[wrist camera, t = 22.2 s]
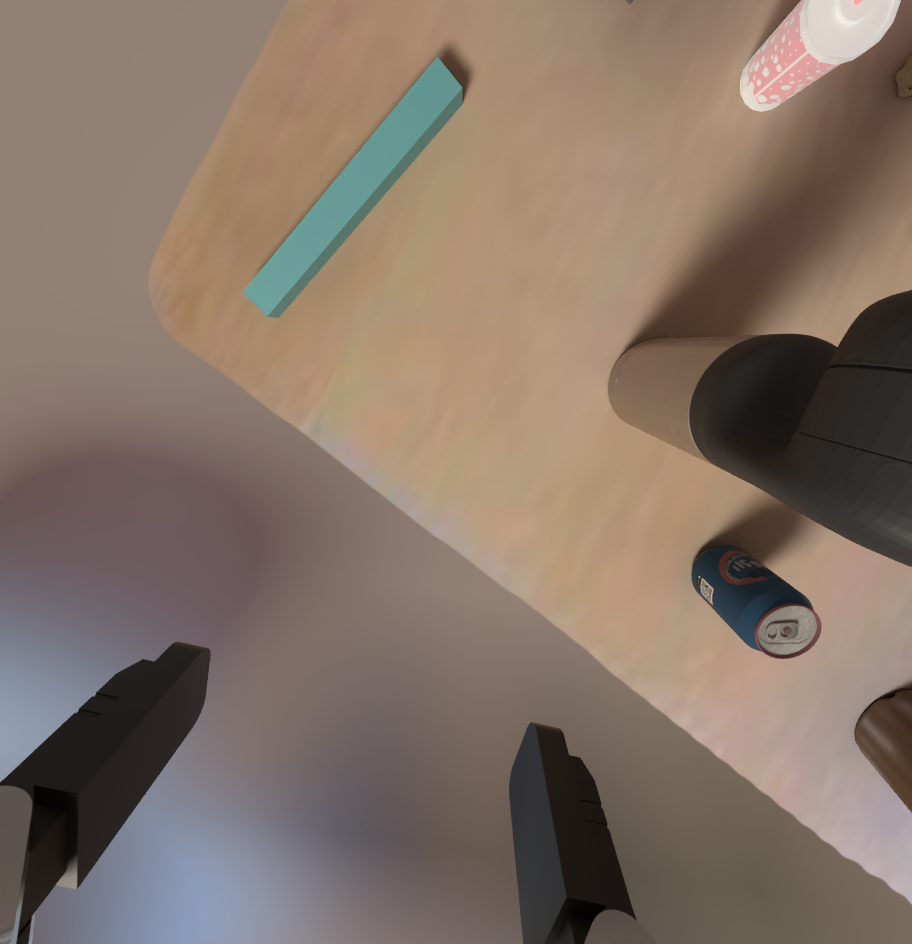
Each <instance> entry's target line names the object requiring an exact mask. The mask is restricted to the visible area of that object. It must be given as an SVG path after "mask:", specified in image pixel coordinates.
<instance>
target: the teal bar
mask: <svg viewBox="0 0 912 944" xmlns="http://www.w3.org/2000/svg"><path fill="white" fill-rule="evenodd" d="M462 104H463V88H462V86H461V85H460V84H459V83H458V81H457V80H456V79H455V78H454V76H453V75H452V74H451V73H450V71H449V70H448V69H447V68H446V66H445V65H444V64H443V63H442V61H441V60H440V59H439V58H438V57H436V59H435V60H434V61H433V62H432V63H431V65H430V66H429V67H428V68H427V70H426V71H425V72H424V73H423V74H422V76H421V77H420V78H419V79H418V80H417V82H416V83H415V84H414V85H413V86H412V88H411V89H410V90H409V91H408V93H407V94H406V95H405V96H404V97H403V99H402V100H401V101H400V102H399V103H398V105H397V106H396V107H395V108H394V110H393V111H392V112H391V113H390V114H389V116H388V117H387V118H386V119H385V120H384V122H383V123H382V124H381V125H380V126H379V128H378V129H377V130H376V131H375V133H374V134H373V135H372V136H371V137H370V139H369V140H368V141H367V142H366V143H365V145H364V146H363V147H362V148H361V149H360V151H359V152H358V153H357V154H356V156H355V157H354V158H353V159H352V160H351V162H350V163H349V164H348V165H347V166H346V168H345V169H344V170H343V171H342V173H341V174H340V175H339V176H338V177H337V179H336V180H335V181H334V182H333V183H332V185H331V186H330V187H329V188H328V189H327V191H326V192H325V193H324V194H323V196H322V197H321V198H320V199H319V200H318V202H317V203H316V204H315V205H314V206H313V208H312V209H311V210H310V211H309V213H308V214H307V215H306V216H305V217H304V219H303V220H302V221H301V222H300V223H299V225H298V226H297V227H296V228H295V229H294V231H293V232H292V233H291V234H290V236H289V237H288V238H287V239H286V240H285V242H284V243H283V244H282V245H281V246H280V248H279V249H278V250H277V251H276V253H275V254H274V255H273V256H272V257H271V259H270V260H269V261H268V262H267V263H266V265H265V266H264V267H263V268H262V269H261V271H260V272H259V273H258V274H257V276H256V277H255V278H254V279H253V280H252V282H251V283H250V284H249V285H248V286H247V288H246V289H245V290H244V291H243V293H244V294H245V295H246V296H247V297H248V298H249V299H250V300H251V301H252V302H253V303H254V304H255V305H256V306H257V307H258V308H259V309H260V310H261V311H262V312H263V313H264V314H265V315H266V316H268V317H275V318H279V317H280V316H281V314H282V313H283V312H284V311H285V310H286V309H287V307H288V306H289V305H290V304H291V303H292V302H293V300H294V299H295V298H296V297H297V296H298V295H299V293H300V292H301V291H302V290H303V289H304V288H305V287H306V285H307V284H308V283H309V282H310V281H311V280H312V278H313V277H314V276H315V275H316V274H317V273H318V271H319V270H320V269H321V268H322V267H323V266H324V264H325V263H326V262H327V261H328V260H329V259H330V257H331V256H332V255H333V254H334V253H335V252H336V251H337V249H338V248H339V247H340V246H341V245H342V244H343V242H344V241H345V240H346V239H347V238H348V237H349V235H350V234H351V233H352V232H353V231H354V230H355V228H356V227H357V226H358V225H359V224H360V223H361V221H362V220H363V219H364V218H365V217H366V216H367V215H368V213H369V212H370V211H371V210H372V209H373V208H374V206H375V205H376V204H377V203H378V202H379V201H380V199H381V198H382V197H383V196H384V195H385V194H386V192H387V191H388V190H389V189H390V188H391V187H392V185H393V184H394V183H395V182H396V181H397V180H398V179H399V177H400V176H401V175H402V174H403V173H404V172H405V170H406V169H407V168H408V167H409V166H410V165H411V163H412V162H413V161H414V160H415V159H416V158H417V156H418V155H419V154H420V153H421V152H422V151H423V149H424V148H425V147H426V146H427V145H428V144H429V143H430V141H431V140H432V139H433V138H434V137H435V136H436V134H437V133H438V132H439V131H440V130H441V129H442V127H443V126H444V125H445V124H446V123H447V122H448V120H449V119H450V118H451V117H452V116H453V115H454V113H455V112H456V111H457V110H458V109H459V108H460V107H461V105H462Z"/></svg>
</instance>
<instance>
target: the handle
mask: <svg viewBox="0 0 912 944" xmlns="http://www.w3.org/2000/svg"><path fill="white" fill-rule="evenodd" d="M895 81H896V82H897V85H898V92H897V94H898V95H899V96H900V97H901V98H904V97H907V96H912V56H911V57H910V58H909V59H908V60H907V61H906V62H905V65H904V67H903V68H902V69H901V70H900V71H899V72H898V73H897V75H896V78H895Z"/></svg>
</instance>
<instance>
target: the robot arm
mask: <svg viewBox="0 0 912 944" xmlns="http://www.w3.org/2000/svg"><path fill="white" fill-rule="evenodd" d="M608 393H609V399H610V403H611V405H612V407H613V409H614V411H615V412H616V414H617V415H618V416H619V417H620V418H621V419H622V420H623V421H625V422H626V423H628V424H630V425H632V426H634V427H636V428H638V429H640V430H642V431H644V432H646V433H648V434H650V435H652V436H654V437H656V438H658V439H660V440H662V441H664V442H666V443H668V444H671V445H673V446H675V447H677V448H679V449H681V450H683V451H685V452H687V453H689V454H691V455H693V456H695V457H698V458H700V459H702V460H704V461H706V462H708V463H710V464H712V465H715V466H717V467H719V468H721V469H723V470H725V471H727V472H729V473H731V474H733V475H735V476H736V477H738V478H740V479H742V480H744V481H746V482H748V483H750V484H752V485H754V486H756V487H758V488H760V489H761V490H763V491H765V492H767V493H768V494H770V495H772V496H773V497H775V498H777V499H778V500H780V501H782V502H783V503H785V504H787V505H788V506H790V507H791V508H793V509H795V510H796V511H798V512H800V513H801V514H803V515H805V516H806V517H808V518H810V519H812V520H813V521H815V522H817V523H819V524H821V525H822V526H824V527H826V528H828V529H830V530H832V531H833V532H835V533H837V534H839V535H841V536H843V537H845V538H847V539H848V540H850V541H852V542H854V543H856V544H859V545H861V546H863V547H865V548H867V549H870V550H872V551H874V552H877V553H879V554H881V555H884V556H886V557H888V558H891V559H893V560H895V561H898V562H900V563H903V564H905V565H908V566H911V567H912V290H910V291H906V292H903V293H899V294H895V295H892V296H889V297H886V298H884V299H882V300H879V301H877V302H876V303H874V304H872V305H870V306H869V307H868V308H866V309H865V310H864V311H863V312H862V313H860V315H859V316H858V317H857V318H856V320H855V321H854V322H853V323H852V325H851V326H850V328H849V329H848V331H847V332H846V334H845V336H844V337H843V339H842V340H841V342H840V344H839V346H838V347H836V346H835V345H833V344H831V343H829V342H827V341H825V340H822V339H819V338H817V337H813V336H809V335H802V334H769V335H746V336H722V337H692V338H658V339H651V340H646V341H643V342H640V343H638V344H636V345H634V346H633V347H631V348H630V349H628V350H627V351H626V352H625V353H624V354H623V355H622V356H621V357H620V358H619V360H618V361H617V362H616V364H615V366H614V368H613V370H612V372H611V375H610V379H609V386H608ZM209 662H210V650H209V649H208V648H204V647H200V646H195V645H191V644H187V643H182V642H175V643H173V644H172V645H171V646H170V647H169V648H168V649H167V650H166V651H165V652H164V653H163V654H162V655H161V656H160V657H159V658H158V659H157V660H156V661H155V662H153V661H148V660H144V659H142V660H141V661H139V662H137V663H135V664H133V665H131V666H130V667H128V668H126V669H124V670H122V671H120V672H118V673H117V674H116V675H114V677H112V678H111V679H110V680H109V681H108V682H107V683H106V684H105V685H104V686H103V687H102V688H101V689H100V690H99V691H98V692H96V695H95V696H94V697H93V696H92V697H91V698H90V699H89V700H88V701H87V702H86V703H85V704H84V705H83V706H82V707H81V708H79V711H78V712H77V713H74V714H73V715H72V716H71V717H70V718H69V719H68V720H67V721H66V722H64V723H63V724H62V725H61V726H60V727H59V728H58V729H57V730H56V731H55V732H54V733H53V734H52V735H51V736H50V737H48V738H47V739H46V740H45V741H44V742H43V743H42V744H41V745H40V746H39V747H38V748H37V749H36V750H35V751H34V752H33V753H31V754H30V755H29V756H28V757H27V758H26V759H25V760H24V761H23V762H22V763H21V764H20V765H19V766H18V767H17V768H16V769H15V770H13V771H12V772H11V773H10V774H9V775H8V776H7V777H6V778H5V779H4V780H2V781H1V782H0V944H31V943H32V935H33V927H34V919H35V911H36V910H37V909H38V908H39V906H40V905H41V904H42V902H43V901H44V900H45V898H46V897H47V896H48V894H49V893H50V892H51V890H52V889H53V888H54V886H55V885H57V886H62V887H67V888H72V889H78V887H79V886H80V885H81V883H82V882H83V880H84V879H85V877H86V876H87V875H88V873H89V872H90V871H91V869H92V868H93V866H94V865H95V863H96V862H97V861H98V859H99V858H100V856H101V855H102V854H103V852H104V851H105V850H106V848H107V847H108V845H109V844H110V842H111V841H112V840H113V838H114V837H115V835H116V834H117V833H118V831H119V830H120V829H121V827H122V826H123V824H124V823H125V821H126V820H127V819H128V817H129V816H130V815H131V813H132V812H133V810H134V809H135V808H136V806H137V805H138V803H139V802H140V801H141V799H142V798H143V796H144V795H145V794H146V792H147V791H148V789H149V788H150V787H151V785H152V784H153V782H154V781H155V780H156V778H157V777H158V775H159V774H160V773H161V771H162V770H163V768H164V767H165V766H166V764H167V763H168V761H169V760H170V759H171V757H172V756H173V754H174V753H175V752H176V750H177V749H178V747H179V746H180V745H181V743H182V742H183V740H184V739H185V738H186V736H187V735H188V733H189V732H190V730H191V729H192V728H193V726H194V725H195V723H196V721H197V719H198V717H199V715H200V713H201V711H202V708H203V705H204V702H205V697H206V689H207V680H208V671H209ZM509 798H510V809H511V818H512V819H511V820H512V829H513V839H514V851H515V861H516V871H517V881H518V892H519V903H520V913H521V923H522V933H523V944H657V943H656V942H655V940H654V938H653V937H652V936H651V934H650V933H649V932H648V931H647V930H646V929H645V928H644V927H643V926H642V925H641V924H640V923H639V922H638V921H637V920H636V918H635V914H634V912H633V909H632V906H631V902H630V899H629V895H628V892H627V888H626V885H625V882H624V878H623V875H622V872H621V868H620V865H619V861H618V858H617V855H616V851H615V848H614V845H613V841H612V838H611V835H610V831H609V829H607V821H606V818H605V814H604V811H603V809H602V808H601V801H600V797H599V794H598V791H597V787H596V784H595V781H594V779H593V777H592V775H591V774H590V772H589V771H588V769H587V768H586V766H585V764H584V763H583V761H582V760H581V758H579V757H575V756H570V755H569V754H568V750H567V746H566V742H565V738H564V734H563V732H562V730H561V729H559V728H555V727H550V726H545V725H541V724H537V723H532V722H531V723H530V724H529V725H528V727H527V730H526V733H525V735H524V738H523V740H522V743H521V746H520V748H519V751H518V754H517V756H516V759H515V761H514V764H513V767H512V771H511V776H510V784H509Z"/></svg>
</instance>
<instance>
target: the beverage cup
mask: <svg viewBox="0 0 912 944" xmlns="http://www.w3.org/2000/svg"><path fill="white" fill-rule="evenodd" d="M900 2H901V0H801V1H800V2H799V3H798V4H797V6H796V7H795V8H794V9H793V10H792V11H791V13H790V14H789V15H788V16H787V17H786V18H785V20H784V21H783V22H782V23H781V24H780V25H779V26H778V28H777V29H776V30H775V31H774V32H773V33H772V35H771V36H770V37H769V38H768V39H767V40H766V41H765V43H764V44H763V45H762V46H761V47H760V48H759V50H758V51H757V52H756V53H755V54H754V55H753V57H752V58H751V59H750V60H749V62H748V63H747V65H746V66H745V68H744V69H743V73H742V76H741V80H740V93H741V96H742V98H743V100H744V102H745V104H746V105H747V106H749V107H750V108H751V109H752V110H756V111H762V112H763V111H767V110H771V109H774V108H775V107H777V106H778V105H780V104H781V103H783V102H784V101H786V100H787V99H789V98H790V97H792V96H793V95H795V94H796V93H798V92H799V91H801V90H802V89H804V88H805V87H807V86H808V85H810V84H811V83H813V82H814V81H816V80H817V79H819V78H820V77H822V76H823V75H825V74H826V73H828V72H829V71H831V70H832V69H834V68H836V67H837V66H839V65H840V64H842V63H845V62H848V61H852V60H854V59H855V58H857V57H858V56H860V55H861V54H863V53H864V52H865V51H867V50H868V49H869V48H871V47H872V46H873V45H875V44H876V43H878V42H879V41H880V40H881V38H882V37H883V36H884V34H885V33H886V32H887V30H888V29H889V27H890V26H891V25H892V23H893V21H894V19H895V16H896V13H897V10H898V7H899V5H900Z"/></svg>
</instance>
